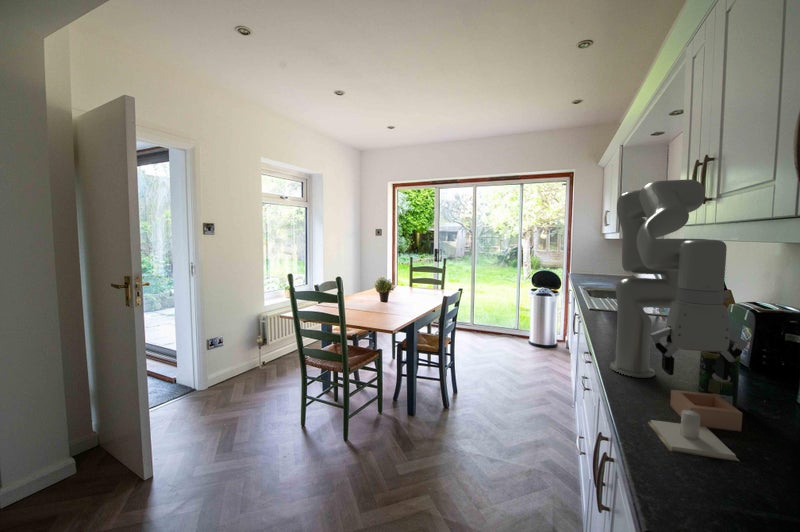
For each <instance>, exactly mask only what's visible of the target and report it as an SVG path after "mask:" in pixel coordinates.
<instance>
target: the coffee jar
mask: <svg viewBox="0 0 800 532" xmlns="http://www.w3.org/2000/svg"><path fill="white" fill-rule="evenodd" d="M734 344H735V342H734V341H732V340H730V343H729V348H728V350H729V349H730V348H732V347H733V346H734ZM699 355H700V356H699V358H700V359H699V371H698V372H699V374H698V391H697V392H700V393H709V394H717V395H719V396H720V397H721V398H723V399H724V400H725V401H727V402H728V403H729V404H731V405H732V406H733V407H735V408H736V409H738V398H739V397H738V396H739V395H738V394H739V382H740V368H741V355H742V354H741V355H739V356H738V357H736V358H735V359H734V361H733V362H731V366H730V375H728V380H723V379H722V378H720V377H718V376H717V375H716V374H715V371H716V358H717V357H720V356H719V354H718V353H717V352H707V351H700V354H699Z"/></svg>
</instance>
